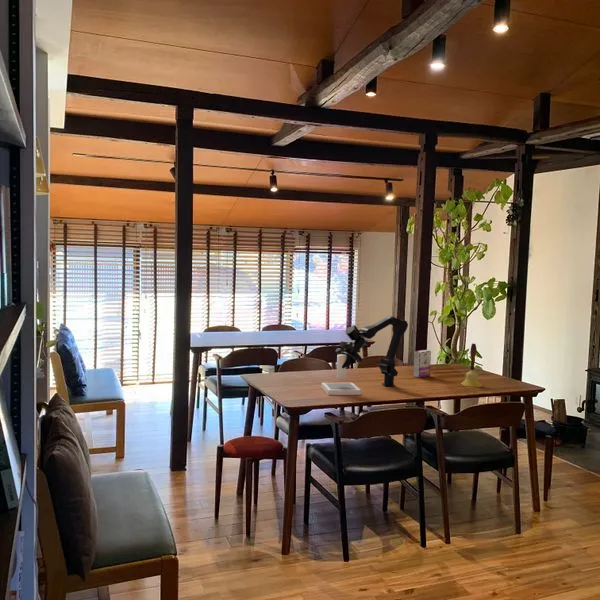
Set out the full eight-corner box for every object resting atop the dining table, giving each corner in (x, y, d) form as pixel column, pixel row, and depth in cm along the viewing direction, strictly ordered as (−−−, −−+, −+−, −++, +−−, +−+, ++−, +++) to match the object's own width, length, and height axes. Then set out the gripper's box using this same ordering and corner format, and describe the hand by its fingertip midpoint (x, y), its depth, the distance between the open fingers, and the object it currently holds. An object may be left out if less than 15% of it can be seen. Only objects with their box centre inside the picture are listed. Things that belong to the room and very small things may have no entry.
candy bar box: (423, 374, 362) (425, 349, 361) (430, 376, 358) (431, 350, 357) (412, 376, 355) (414, 350, 354) (419, 378, 351) (420, 352, 350)
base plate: (360, 394, 301) (360, 389, 301) (327, 394, 298) (328, 389, 298) (352, 386, 319) (352, 382, 319) (321, 387, 316) (321, 382, 316)
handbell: (479, 388, 328) (481, 346, 326) (458, 385, 334) (460, 343, 333) (484, 384, 338) (486, 343, 337) (463, 381, 345) (466, 341, 343)
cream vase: (347, 378, 308) (348, 355, 307) (341, 379, 305) (341, 356, 304) (340, 377, 312) (341, 354, 311) (334, 378, 309) (335, 354, 308)
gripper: (338, 333, 317) (321, 354, 312) (358, 338, 301) (341, 360, 296) (349, 347, 321) (332, 367, 316) (369, 352, 305) (352, 373, 300)
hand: (339, 366), depth 307 cm, fingers closed on cream vase, 5 cm apart
